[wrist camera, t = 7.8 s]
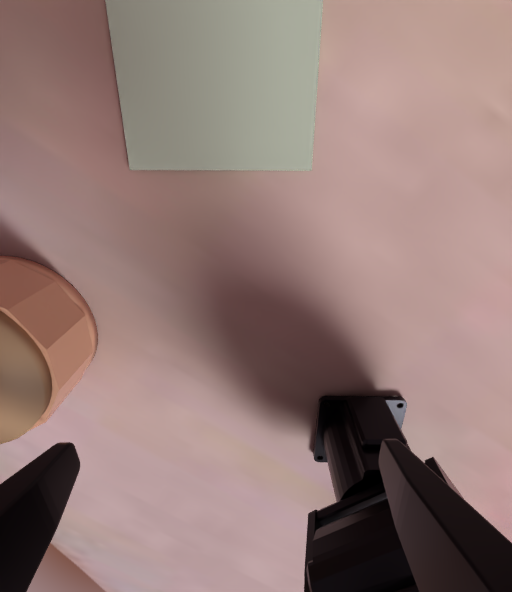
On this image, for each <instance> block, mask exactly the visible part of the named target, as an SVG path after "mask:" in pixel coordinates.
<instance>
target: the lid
mask: <svg viewBox="0 0 512 592" xmlns="http://www.w3.org/2000/svg"><path fill="white" fill-rule="evenodd" d="M51 396H52V378H51V373H50V369H49V367H48V364H47V361H46V359H45V357H44V356H43V354H42V352H41V350H40V349H39V347H38V346H37V344H36V343H35V342H34V340H33V339H32V338H31V337H30V336H29V335H28V333H27V332H26V331H25V330H24V329H23V328H22V327H21V326H20V325H18V324H17V323H16V322H15V321H14V320H13V319H11V318H10V317H9V316H7V315H6V314H5V313H3V312H2V311H0V444H2V443H6V442H9V441H12V440H14V439H17V438H19V437H20V436H22V435H23V434H25V433H26V432H27V431H29V430H30V429H31V428H32V427H33V426H34V424H35V423H36V422H37V421H38V420H39V419H40V417H41V416H42V415H43V414H44V412H45V411H46V409H47V407H48V405H49V403H50V400H51Z"/></svg>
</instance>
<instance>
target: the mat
mask: <svg viewBox="0 0 512 592" xmlns="http://www.w3.org/2000/svg"><path fill="white" fill-rule="evenodd" d="M105 2H106V9H107V16H108V23H109V30H110V37H111V44H112V51H113V58H114V65H115V72H116V79H117V85H118V92H119V99H120V106H121V113H122V120H123V127H124V134H125V141H126V148H127V155H128V162H129V168H130V170H253V171H312V157H313V142H314V128H315V113H316V98H317V83H318V68H319V54H320V39H321V24H322V9H323V0H105Z"/></svg>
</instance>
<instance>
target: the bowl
mask: <svg viewBox="0 0 512 592" xmlns="http://www.w3.org/2000/svg"><path fill="white" fill-rule="evenodd" d="M0 311H2V312H3V313H5V314H6V315H7V316H9V317H10V318H11V319H13V320H14V321H15V322H16V323H17V324H18V325H20V326H21V327H22V328H23V329H24V330H25V331H26V332H27V333H28V335H29V336H30V337H31V338H32V339H33V340H34V342H35V343H36V344H37V346H38V347H39V349H40V350H41V352H42V354H43V356H44V357H45V359H46V361H47V364H48V367H49V369H50V373H51V378H52V396H51V400H50V403H49V405H48V407H47V409H46V411H45V412H44V414H43V415H42V416H41V417H40V419H39V420H38V421H37V422H36V423H35V424H34V426H33V427H32V428H31V429H33V428H35V427H37V426H39V425H41V424H43V423H45V422H46V421H47V420H48V419H49V418H50V416H51V415H52V414H53V413H54V411H55V410H56V409H57V408H58V407H59V405H60V404H61V403H62V402H63V400H64V399H65V398H66V397H67V396H68V394H69V393H70V392H71V391H72V389H73V388H74V387H75V386H76V384H77V383H78V382H79V381H80V380H81V378H82V376H83V373H84V371H85V369H86V368H87V367H88V366H89V364H90V363H91V361H92V360H93V358H94V356H95V353H96V350H97V344H98V333H97V326H96V323H95V319H94V317H93V314H92V312H91V310H90V308H89V306H88V305H87V303H86V301H85V300H84V299H83V297H82V296H81V295H80V293H79V292H78V291H77V290H76V289H75V288H74V287H73V286H72V285H71V284H70V283H69V282H67V281H66V280H65V279H64V278H63V277H61V276H60V275H58V274H57V273H55V272H54V271H52V270H50V269H49V268H47V267H45V266H43V265H41V264H38V263H36V262H33V261H30V260H27V259H24V258H19V257H14V256H2V255H0ZM31 429H30V430H31Z"/></svg>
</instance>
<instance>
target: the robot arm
mask: <svg viewBox="0 0 512 592" xmlns="http://www.w3.org/2000/svg"><path fill="white" fill-rule="evenodd" d="M326 402H327V404H324V403H326ZM399 403H400V404H399ZM397 404H398V405H397ZM406 407H407V403H406V401H405V400H404V398H402V397H383V396H323V397H321V398H320V399H319V403H318V413H317V423H316V432H315V442H314V452H313V455H314V460H315V461H317V462H328V466H329V470H330V475H331V479H332V484H333V488H334V492H335V497H336V501H337V502H336V503H334V504H332V505H330V506H327V507H325V508H323V509H321V510H318V511H317V510H314V511H312V512H310V513H309V514H308V528H307V543H306V558H305V584H304V592H512V543H511V542H510V541H509V540H508V539H507V538H506V537H505V536H503V535H502V534H501V533H500V532H499V531H498V530H497V529H496V528H495V527H494V526H493V525H491V524H490V523H489V522H488V521H487V520H486V519H485V518H484V517H483V516H482V515H480V514H479V513H478V512H477V511H476V510H475V509H474V508H473V507H472V506H471V505H470V504H468V503H467V502H466V501H465V500H464V498H463V497H462V496H461V494H460V493H459V491H458V490H457V489H456V487H455V486H454V485H453V483H452V482H451V480H450V479H449V478H448V476H447V475H446V474H445V472H444V471H443V470H442V468H441V467H440V465H439V464H438V463H437V461H436V460H435V459H434V457H432V458H429V459H427V460H425V463H424V462H422V461H421V460H420V459H419V458H418V457H417V456H416V455H415V454H414V453H413V452H412V451H411V450H410V448H409V446H408V444H407V440H406V438H405V436H404V435H403V433H402V431H401V428H402V424H403V420H404V416H405V412H406ZM79 469H80V460H79V457H78V454H77V452H76V449H75V446H74V444H73V443H70V442H68V443H57V444H55V445H54V446H52V447H51V448H50V449H48V450H47V451H45V452H44V453H43V454H41V455H40V456H39V457H37V458H36V459H35V460H33V461H32V462H30V463H29V464H28V465H26V466H25V467H24V468H22V469H21V470H19V471H18V472H17V473H15V474H14V475H13V476H11V477H10V478H8V479H7V480H6V481H4V482H3V483H2V484H0V592H26V591H27V589H28V587H29V585H30V583H31V581H32V579H33V577H34V575H35V573H36V571H37V569H38V567H39V565H40V562H41V561H42V558H43V556H44V554H45V552H46V550H47V548H48V546H49V544H50V542H51V540H52V538H53V536H54V534H55V531H56V529H57V527H58V524H59V522H60V520H61V517H62V515H63V512H64V509H65V507H66V504H67V501H68V499H69V496H70V494H71V491H72V488H73V486H74V483H75V481H76V478H77V475H78V473H79Z"/></svg>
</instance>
